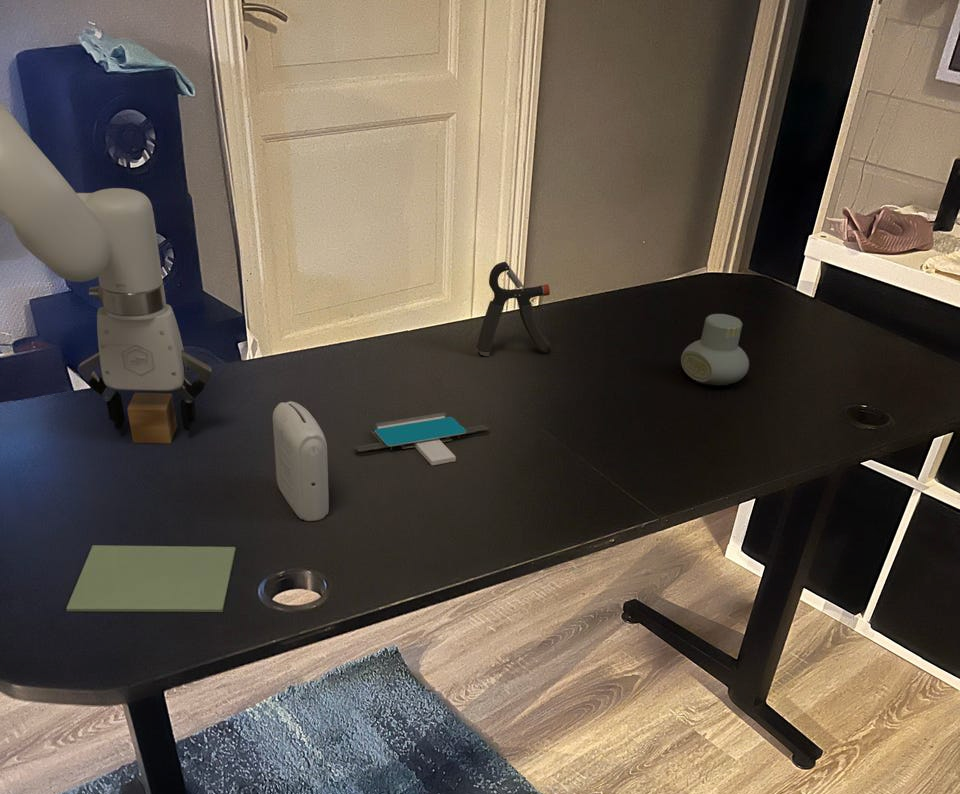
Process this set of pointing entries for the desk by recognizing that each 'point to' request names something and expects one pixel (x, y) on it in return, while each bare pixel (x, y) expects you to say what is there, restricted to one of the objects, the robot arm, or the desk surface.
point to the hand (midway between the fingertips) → (154, 424)
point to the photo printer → (301, 461)
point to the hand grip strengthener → (523, 303)
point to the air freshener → (717, 352)
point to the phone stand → (420, 436)
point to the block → (152, 418)
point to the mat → (153, 579)
